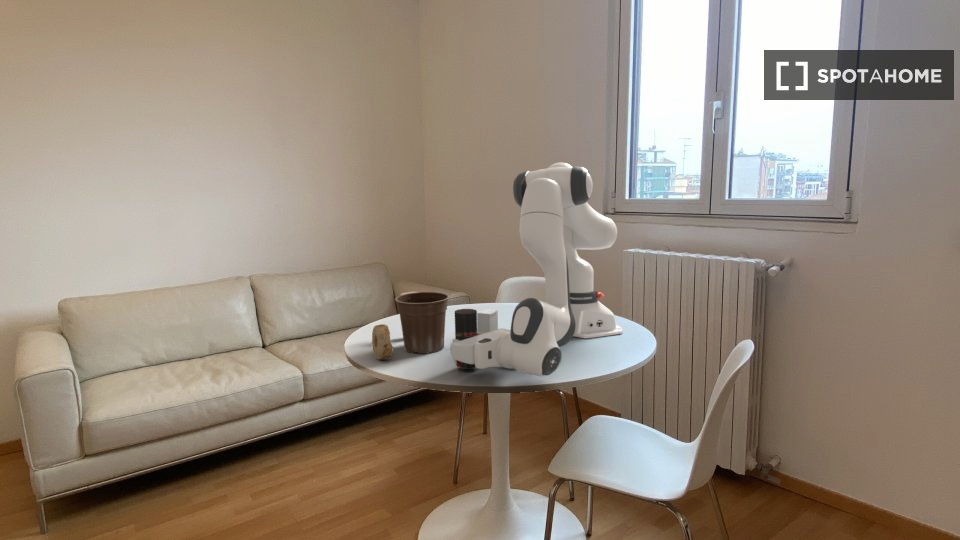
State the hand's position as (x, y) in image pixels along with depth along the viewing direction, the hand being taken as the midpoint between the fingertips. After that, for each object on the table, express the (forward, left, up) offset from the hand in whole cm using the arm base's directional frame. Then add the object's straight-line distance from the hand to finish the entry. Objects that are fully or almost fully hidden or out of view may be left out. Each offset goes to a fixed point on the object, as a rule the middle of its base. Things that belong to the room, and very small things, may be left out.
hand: (464, 338), depth 147 cm
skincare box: (-9, -15, -9) cm, 20 cm away
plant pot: (+10, -21, -9) cm, 25 cm away
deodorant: (-1, +1, -7) cm, 8 cm away
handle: (+13, -33, -9) cm, 37 cm away
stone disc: (+22, -13, -9) cm, 27 cm away
